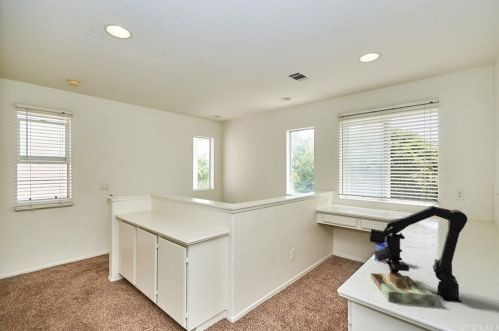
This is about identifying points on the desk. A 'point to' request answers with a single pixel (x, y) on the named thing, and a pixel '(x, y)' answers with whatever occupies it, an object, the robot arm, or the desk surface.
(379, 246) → the ink cartridge box
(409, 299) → the trap board
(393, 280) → the walnut brick
